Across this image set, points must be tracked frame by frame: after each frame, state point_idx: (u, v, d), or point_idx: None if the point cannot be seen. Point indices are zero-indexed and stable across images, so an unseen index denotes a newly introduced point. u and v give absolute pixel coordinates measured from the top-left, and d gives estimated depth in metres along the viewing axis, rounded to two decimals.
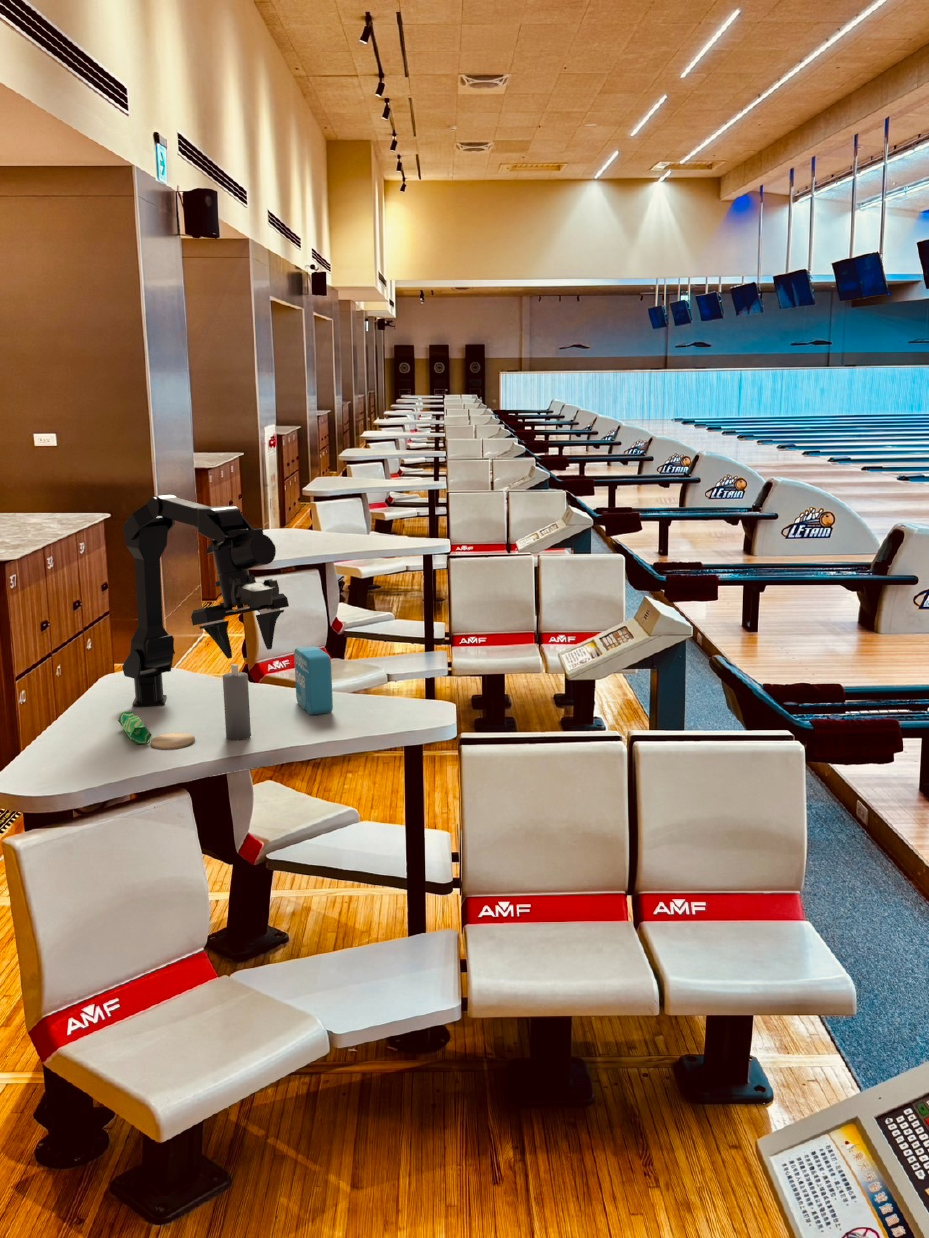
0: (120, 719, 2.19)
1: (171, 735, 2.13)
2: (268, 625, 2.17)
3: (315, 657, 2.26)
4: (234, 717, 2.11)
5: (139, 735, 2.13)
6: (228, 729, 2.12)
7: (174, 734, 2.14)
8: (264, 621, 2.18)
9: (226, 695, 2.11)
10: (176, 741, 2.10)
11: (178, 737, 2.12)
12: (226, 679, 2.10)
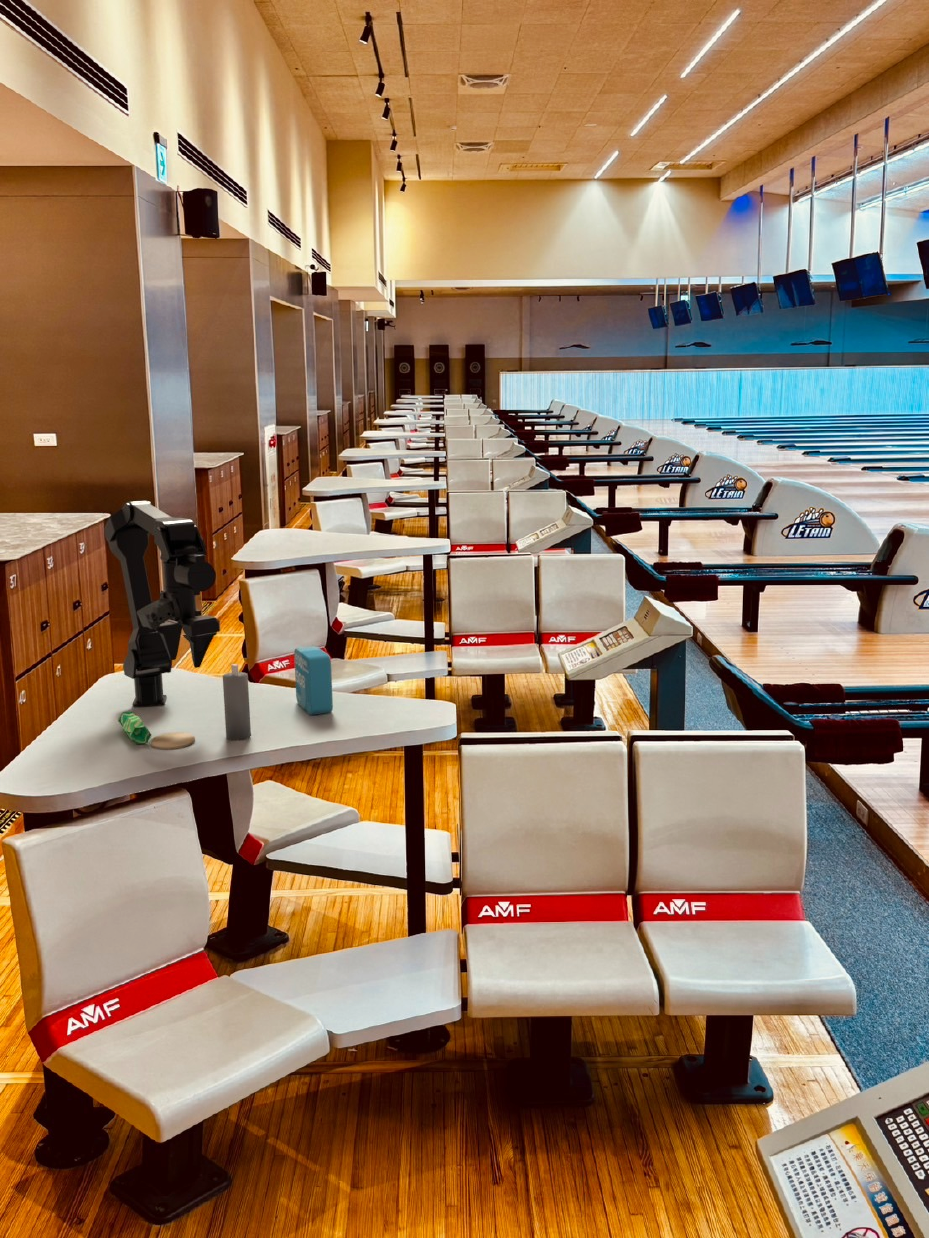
0: (120, 719, 2.19)
1: (171, 735, 2.13)
2: None
3: (315, 657, 2.26)
4: (234, 717, 2.11)
5: (139, 735, 2.13)
6: (228, 729, 2.12)
7: (174, 734, 2.14)
8: None
9: (226, 695, 2.11)
10: (176, 741, 2.10)
11: (178, 737, 2.12)
12: (226, 679, 2.10)
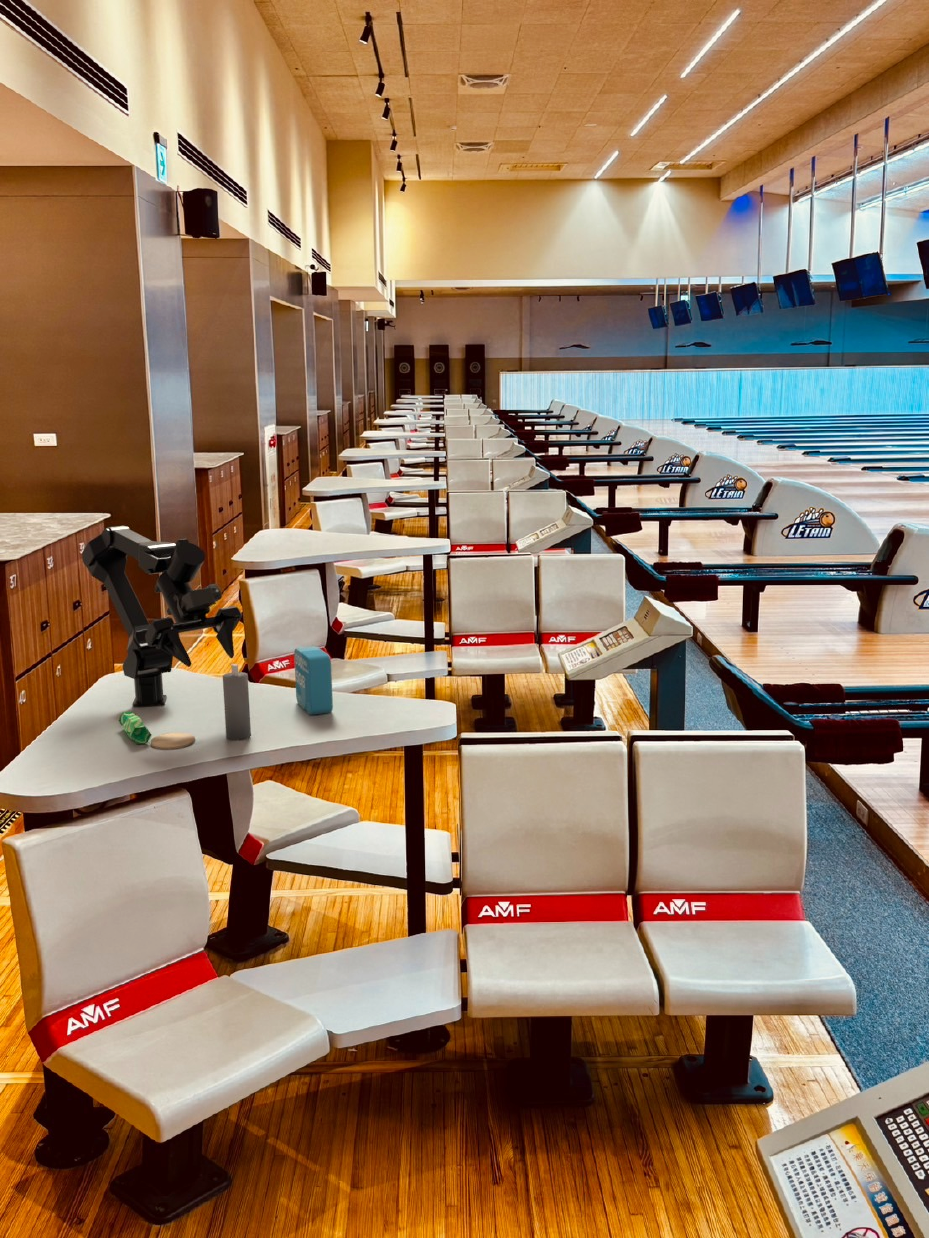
0: (120, 719, 2.19)
1: (171, 735, 2.13)
2: (225, 635, 2.22)
3: (315, 657, 2.26)
4: (234, 717, 2.11)
5: (139, 735, 2.13)
6: (228, 729, 2.12)
7: (174, 734, 2.14)
8: (222, 635, 2.23)
9: (226, 695, 2.11)
10: (176, 741, 2.10)
11: (178, 737, 2.12)
12: (226, 679, 2.10)
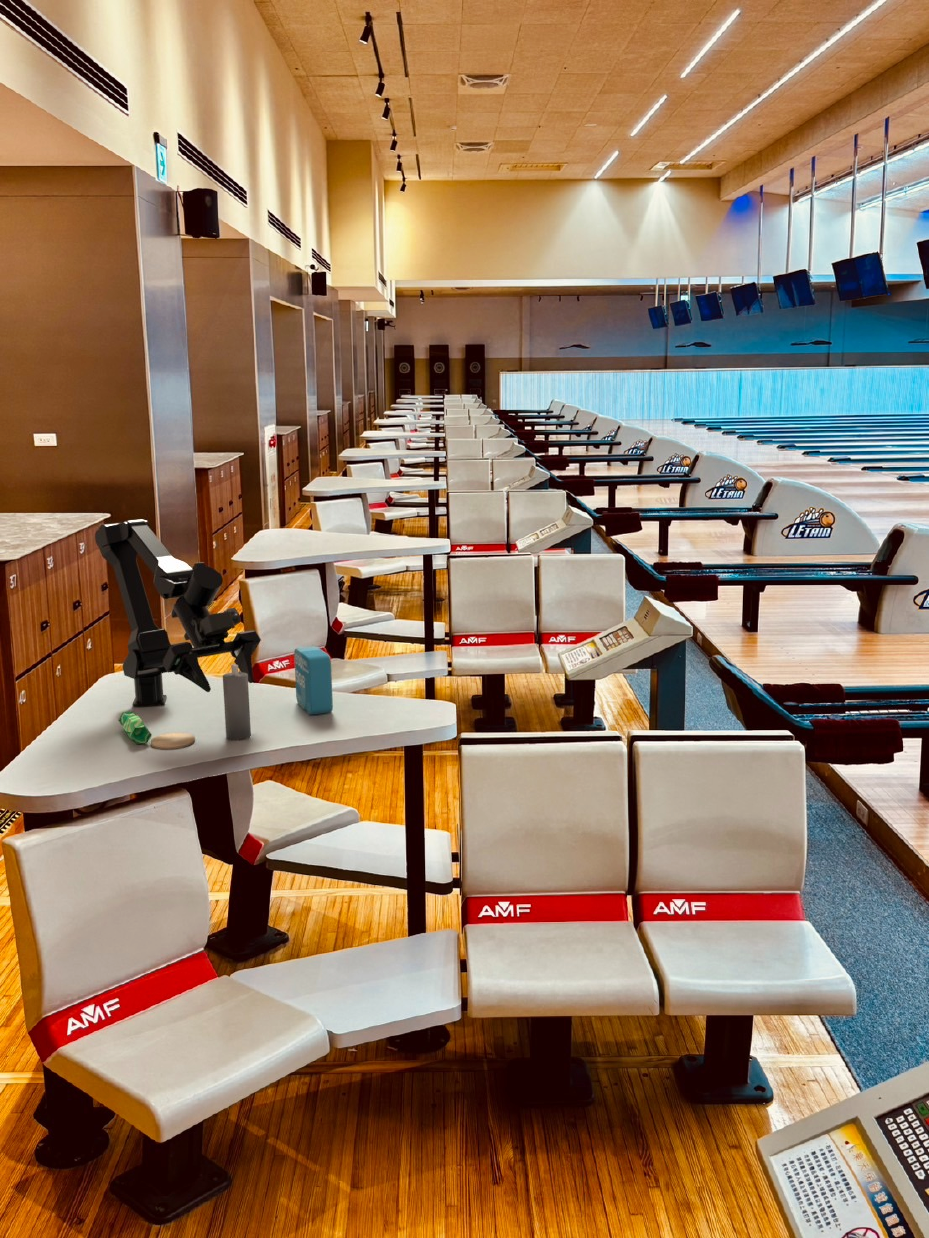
0: (121, 719, 2.19)
1: (171, 735, 2.13)
2: (244, 660, 2.18)
3: (315, 657, 2.26)
4: (234, 717, 2.11)
5: (139, 735, 2.13)
6: (228, 729, 2.12)
7: (174, 734, 2.14)
8: (240, 659, 2.19)
9: (226, 695, 2.11)
10: (176, 741, 2.10)
11: (178, 737, 2.12)
12: (226, 679, 2.10)
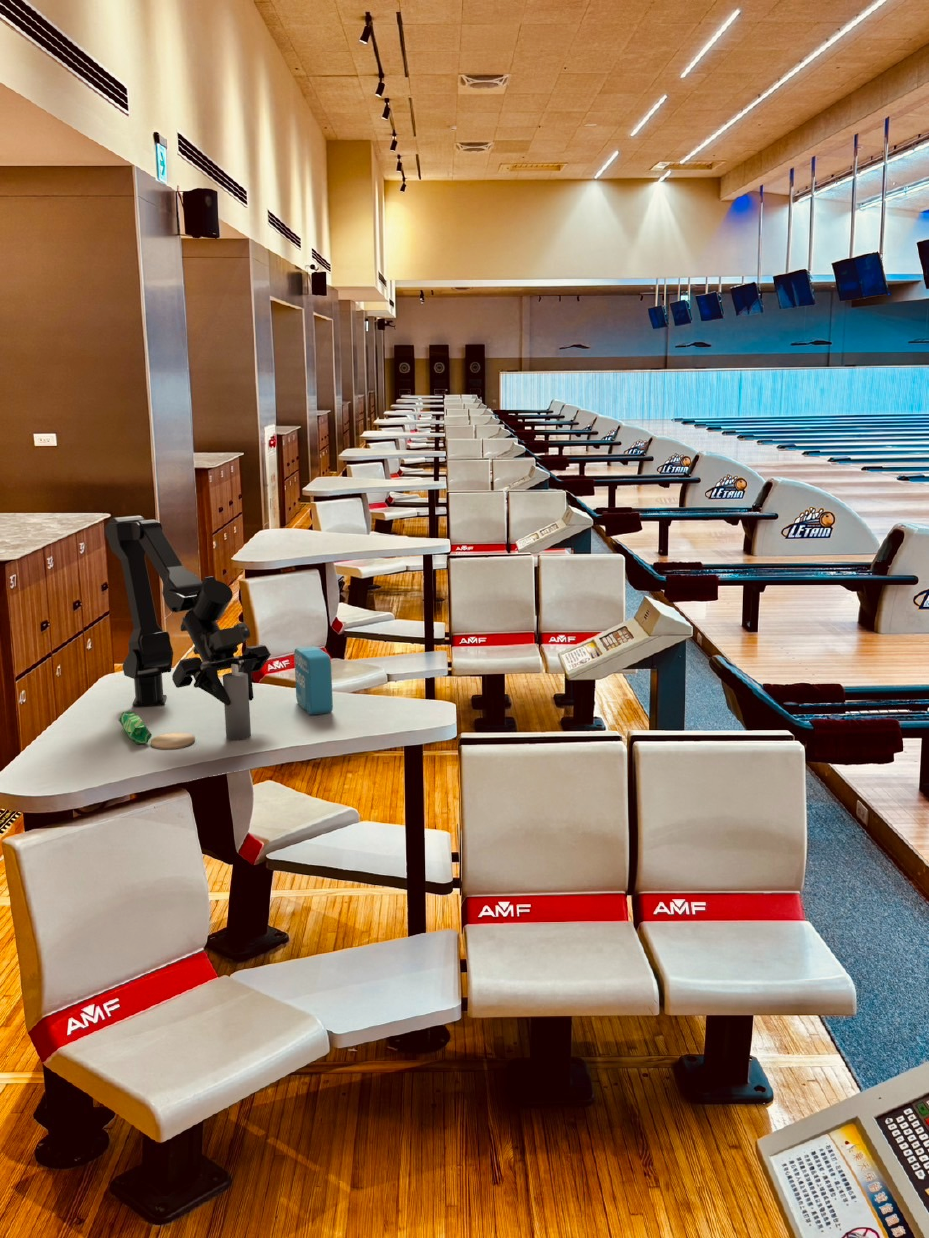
0: (121, 719, 2.19)
1: (171, 735, 2.13)
2: None
3: (315, 657, 2.26)
4: (234, 717, 2.11)
5: (139, 735, 2.13)
6: (229, 729, 2.12)
7: (174, 734, 2.14)
8: None
9: None
10: (176, 741, 2.10)
11: (178, 737, 2.12)
12: (226, 679, 2.10)
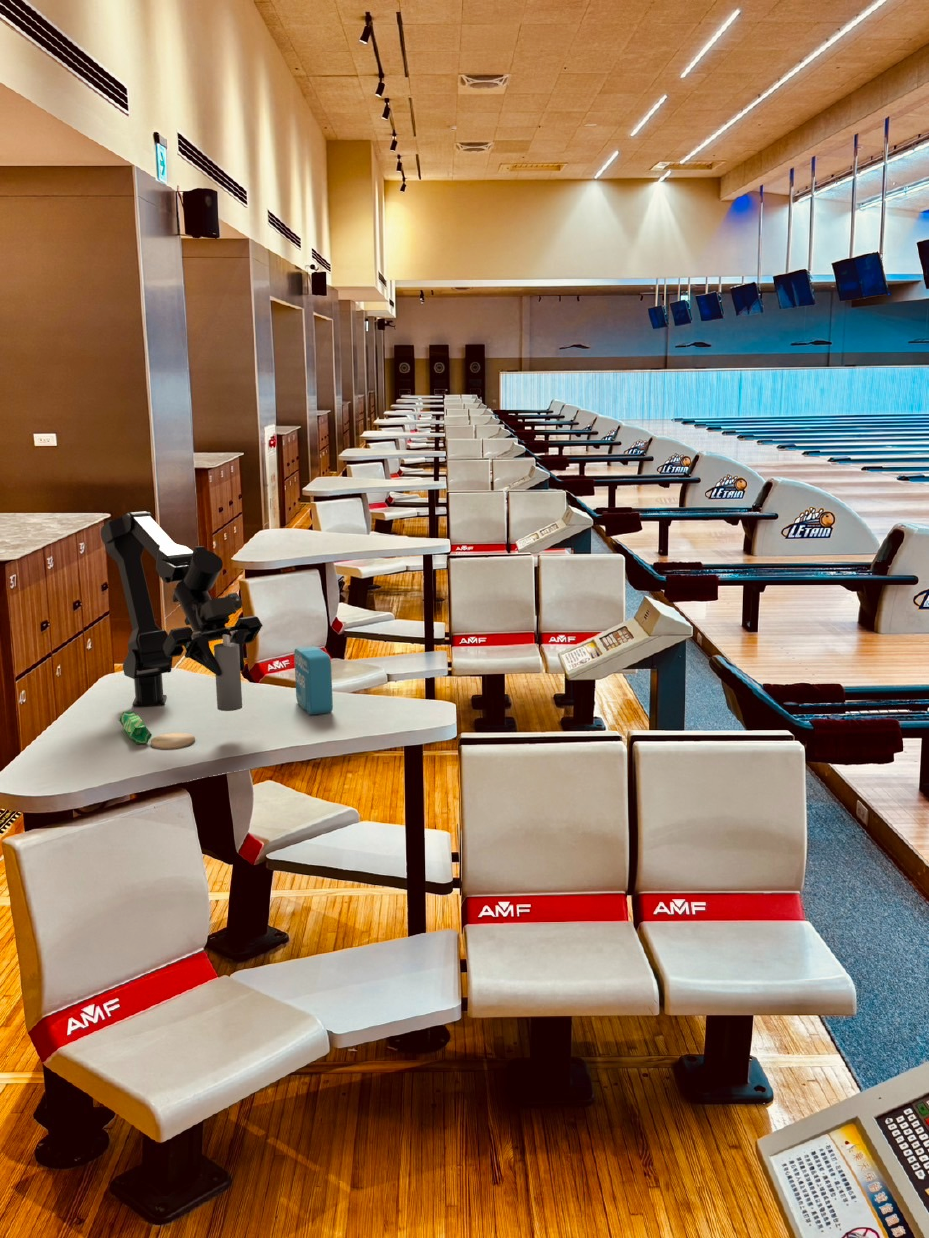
0: (121, 719, 2.19)
1: (171, 735, 2.13)
2: None
3: (315, 657, 2.26)
4: (225, 687, 2.10)
5: (139, 735, 2.13)
6: (220, 699, 2.11)
7: (174, 734, 2.14)
8: None
9: None
10: (176, 741, 2.10)
11: (178, 737, 2.12)
12: (217, 649, 2.09)
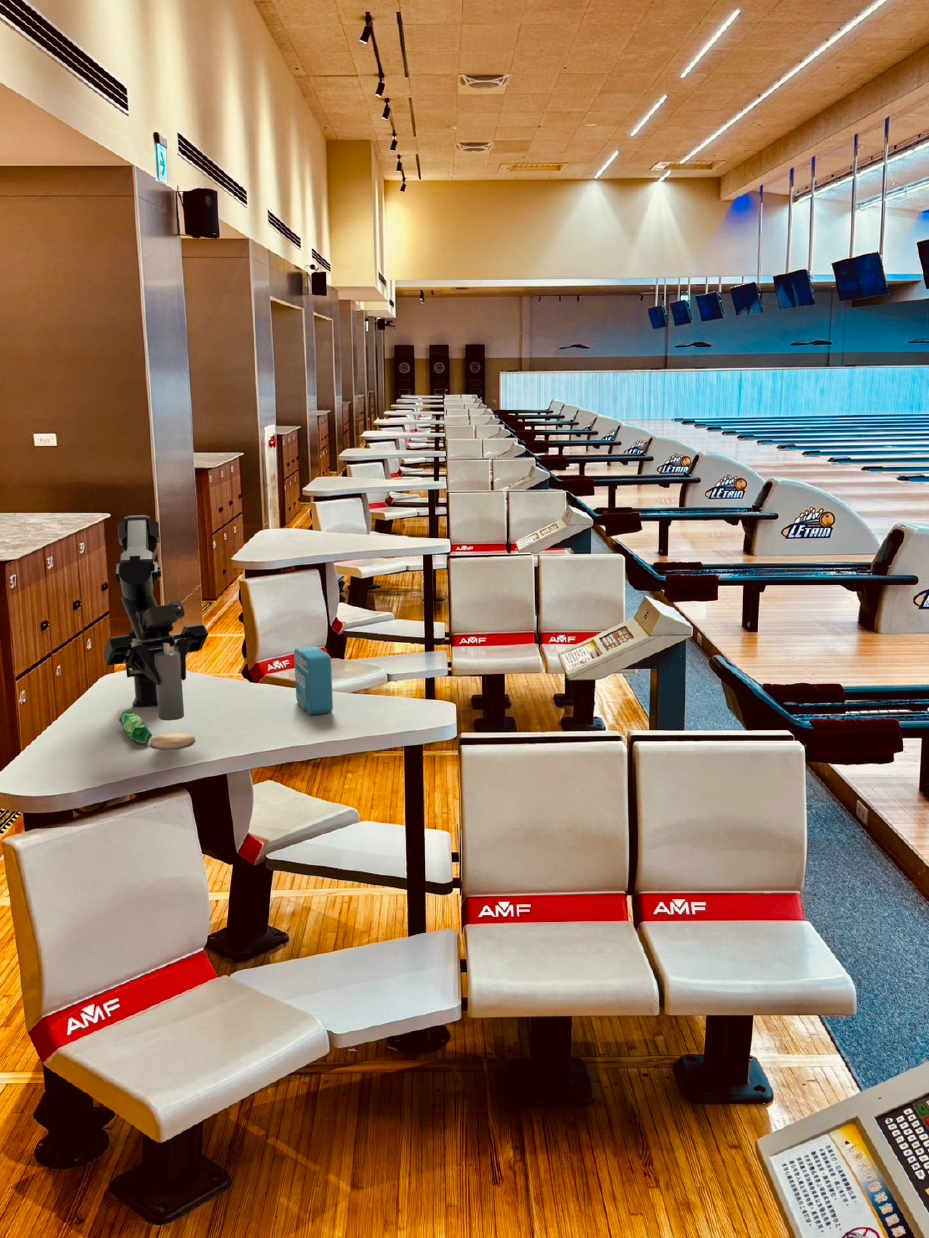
0: (121, 719, 2.19)
1: (171, 735, 2.13)
2: None
3: (315, 657, 2.26)
4: (165, 696, 2.07)
5: (140, 735, 2.13)
6: (160, 708, 2.08)
7: (174, 734, 2.14)
8: None
9: None
10: (176, 741, 2.10)
11: (178, 737, 2.12)
12: (156, 658, 2.06)
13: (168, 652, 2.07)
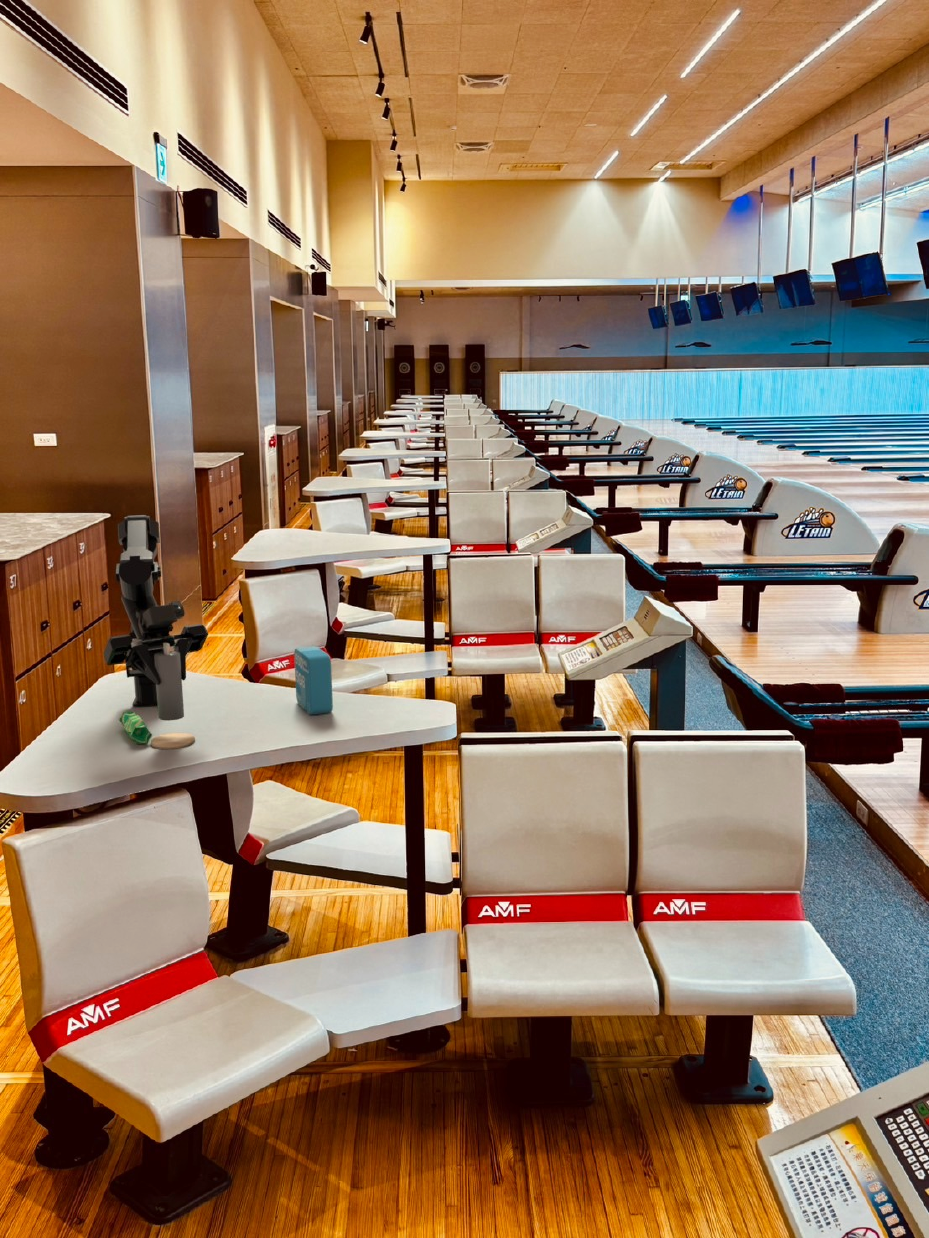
0: (122, 719, 2.19)
1: (171, 735, 2.13)
2: None
3: (315, 657, 2.26)
4: (165, 696, 2.07)
5: (140, 735, 2.13)
6: (160, 708, 2.08)
7: (174, 734, 2.14)
8: None
9: None
10: (176, 741, 2.10)
11: (178, 737, 2.12)
12: (156, 658, 2.06)
13: (168, 652, 2.07)
